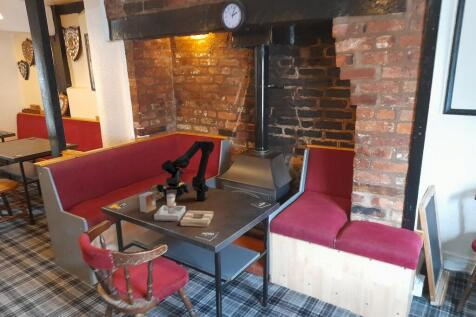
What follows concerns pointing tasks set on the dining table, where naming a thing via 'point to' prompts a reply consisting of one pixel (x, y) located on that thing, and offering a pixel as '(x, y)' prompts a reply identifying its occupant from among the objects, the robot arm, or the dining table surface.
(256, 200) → the dining table surface
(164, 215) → the tray
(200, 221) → the socket block
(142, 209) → the small box
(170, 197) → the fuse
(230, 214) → the dining table surface
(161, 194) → the pine cone
